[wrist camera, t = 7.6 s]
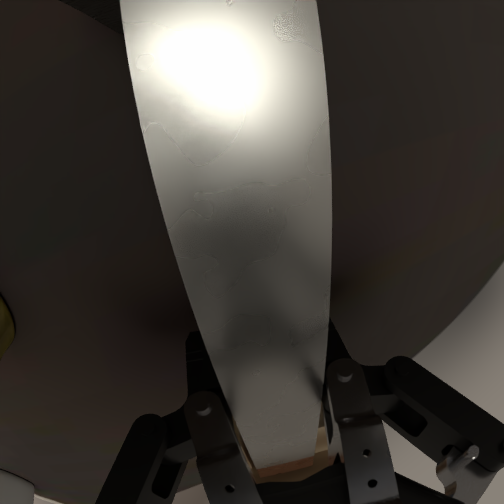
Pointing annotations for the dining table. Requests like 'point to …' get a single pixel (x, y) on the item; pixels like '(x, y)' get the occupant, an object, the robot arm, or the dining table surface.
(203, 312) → the white orange-tipped bar
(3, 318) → the vase
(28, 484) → the milk bottle
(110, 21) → the sleeve
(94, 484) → the dining table surface
